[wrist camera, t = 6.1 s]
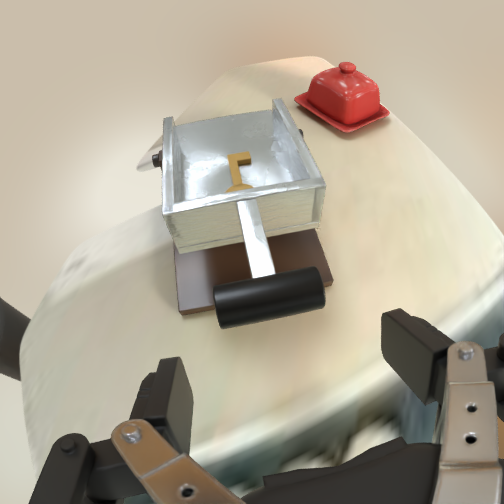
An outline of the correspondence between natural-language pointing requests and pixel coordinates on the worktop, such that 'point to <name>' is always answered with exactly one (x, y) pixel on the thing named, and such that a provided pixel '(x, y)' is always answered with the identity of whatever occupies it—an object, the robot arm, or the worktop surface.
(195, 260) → the stand
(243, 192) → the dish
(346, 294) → the worktop surface
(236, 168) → the key
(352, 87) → the butter dish
